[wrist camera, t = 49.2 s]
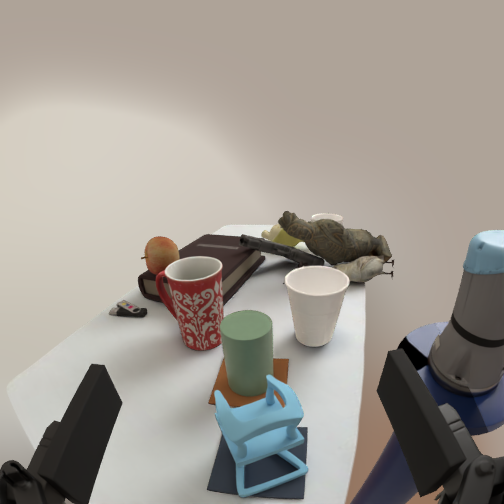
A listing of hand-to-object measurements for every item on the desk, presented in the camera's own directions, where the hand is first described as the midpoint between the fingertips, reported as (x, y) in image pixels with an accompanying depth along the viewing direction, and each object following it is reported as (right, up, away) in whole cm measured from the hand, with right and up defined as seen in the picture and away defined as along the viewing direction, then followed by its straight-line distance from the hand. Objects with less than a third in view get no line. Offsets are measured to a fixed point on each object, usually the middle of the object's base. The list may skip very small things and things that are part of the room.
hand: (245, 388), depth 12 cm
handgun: (+11, +4, +54) cm, 55 cm away
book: (-10, 0, +60) cm, 61 cm away
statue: (+34, +5, +62) cm, 71 cm away
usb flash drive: (-25, -5, +46) cm, 53 cm away
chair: (+1, -17, +15) cm, 22 cm away
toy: (+5, +11, +80) cm, 81 cm away
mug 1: (-9, -9, +38) cm, 40 cm away
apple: (-15, +5, +49) cm, 52 cm away
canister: (0, -12, +27) cm, 29 cm away
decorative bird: (+33, +2, +50) cm, 60 cm away
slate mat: (+1, -17, +15) cm, 22 cm away
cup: (+11, -8, +36) cm, 38 cm away
